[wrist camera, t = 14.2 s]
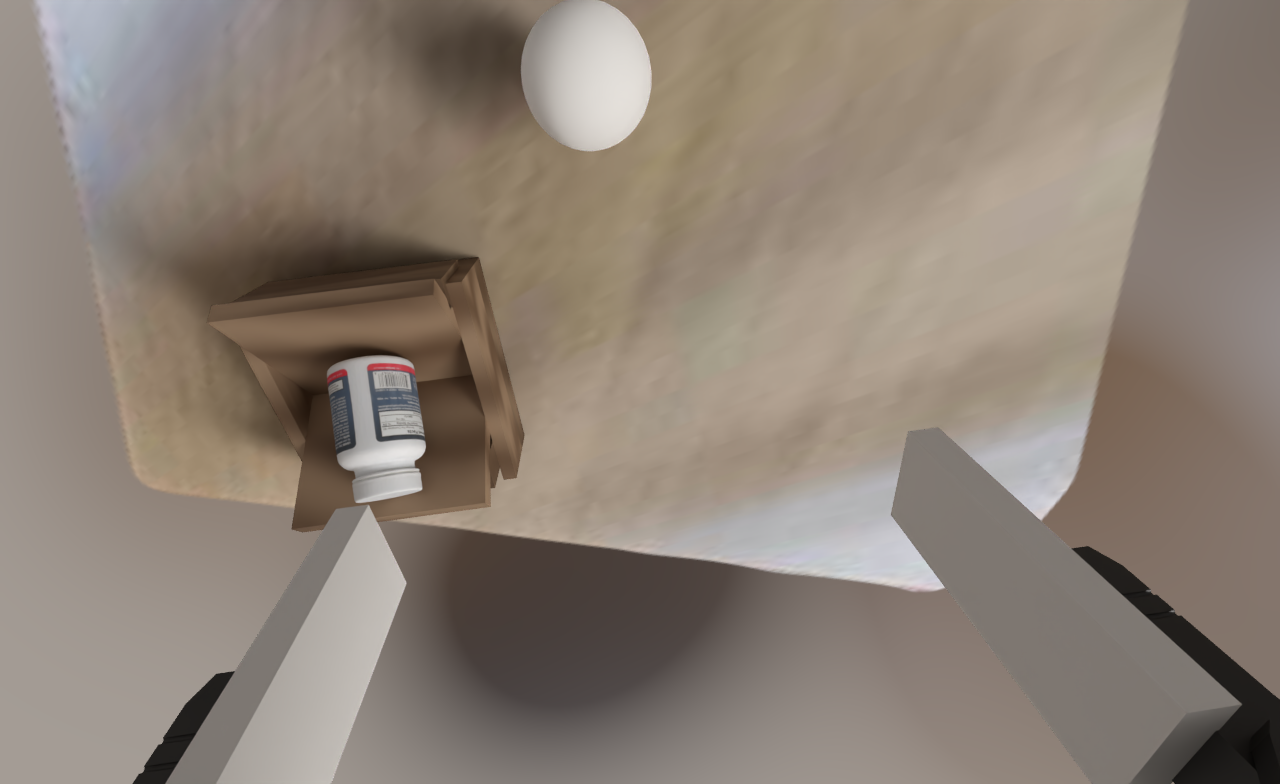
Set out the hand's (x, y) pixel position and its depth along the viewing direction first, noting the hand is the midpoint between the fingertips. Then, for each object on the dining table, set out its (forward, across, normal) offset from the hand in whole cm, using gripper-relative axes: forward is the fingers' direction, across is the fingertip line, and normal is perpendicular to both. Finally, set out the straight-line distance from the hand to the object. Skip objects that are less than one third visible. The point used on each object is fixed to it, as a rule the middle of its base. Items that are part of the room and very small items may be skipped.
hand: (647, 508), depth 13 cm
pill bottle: (+23, -17, -5) cm, 29 cm away
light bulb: (+29, 0, +10) cm, 31 cm away
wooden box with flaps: (+29, -17, -8) cm, 34 cm away
